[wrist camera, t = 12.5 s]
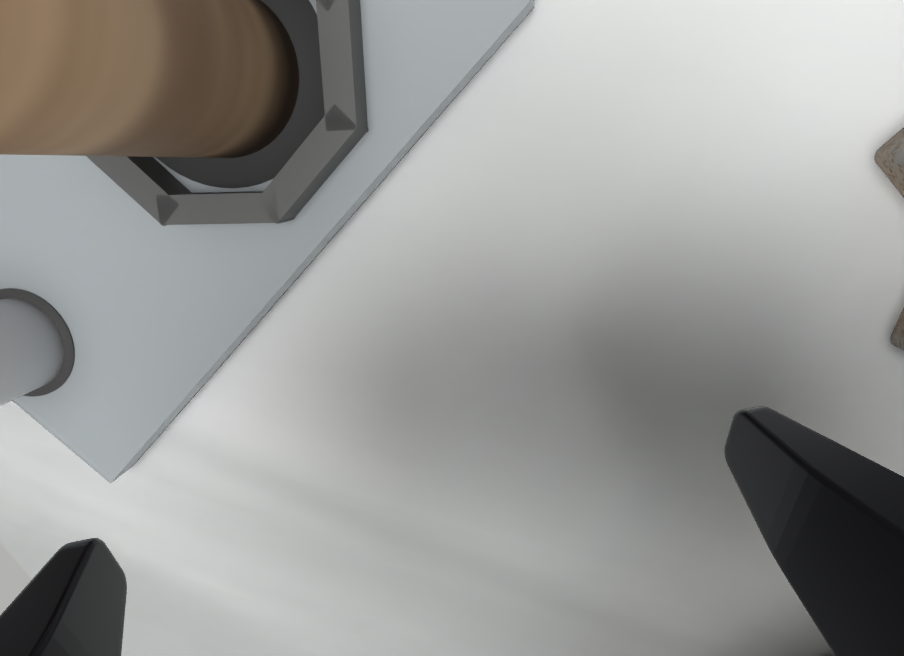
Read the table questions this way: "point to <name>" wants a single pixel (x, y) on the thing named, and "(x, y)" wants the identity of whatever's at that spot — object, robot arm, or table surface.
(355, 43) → the plate
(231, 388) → the table surface
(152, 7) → the brown tall cylinder
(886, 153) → the decorative tile
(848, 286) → the table surface
